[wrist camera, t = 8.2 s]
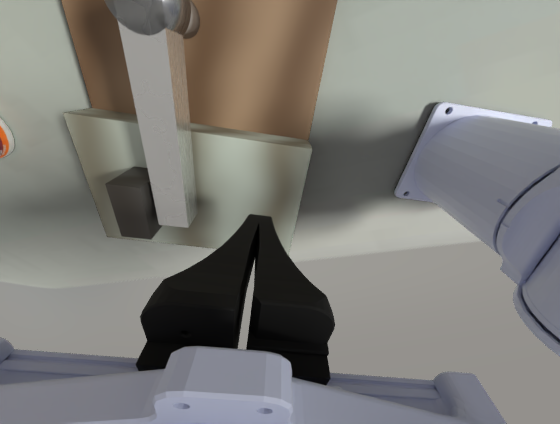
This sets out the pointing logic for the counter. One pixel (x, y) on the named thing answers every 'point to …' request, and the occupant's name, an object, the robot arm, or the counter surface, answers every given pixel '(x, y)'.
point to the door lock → (207, 116)
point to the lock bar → (161, 100)
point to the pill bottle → (5, 140)
